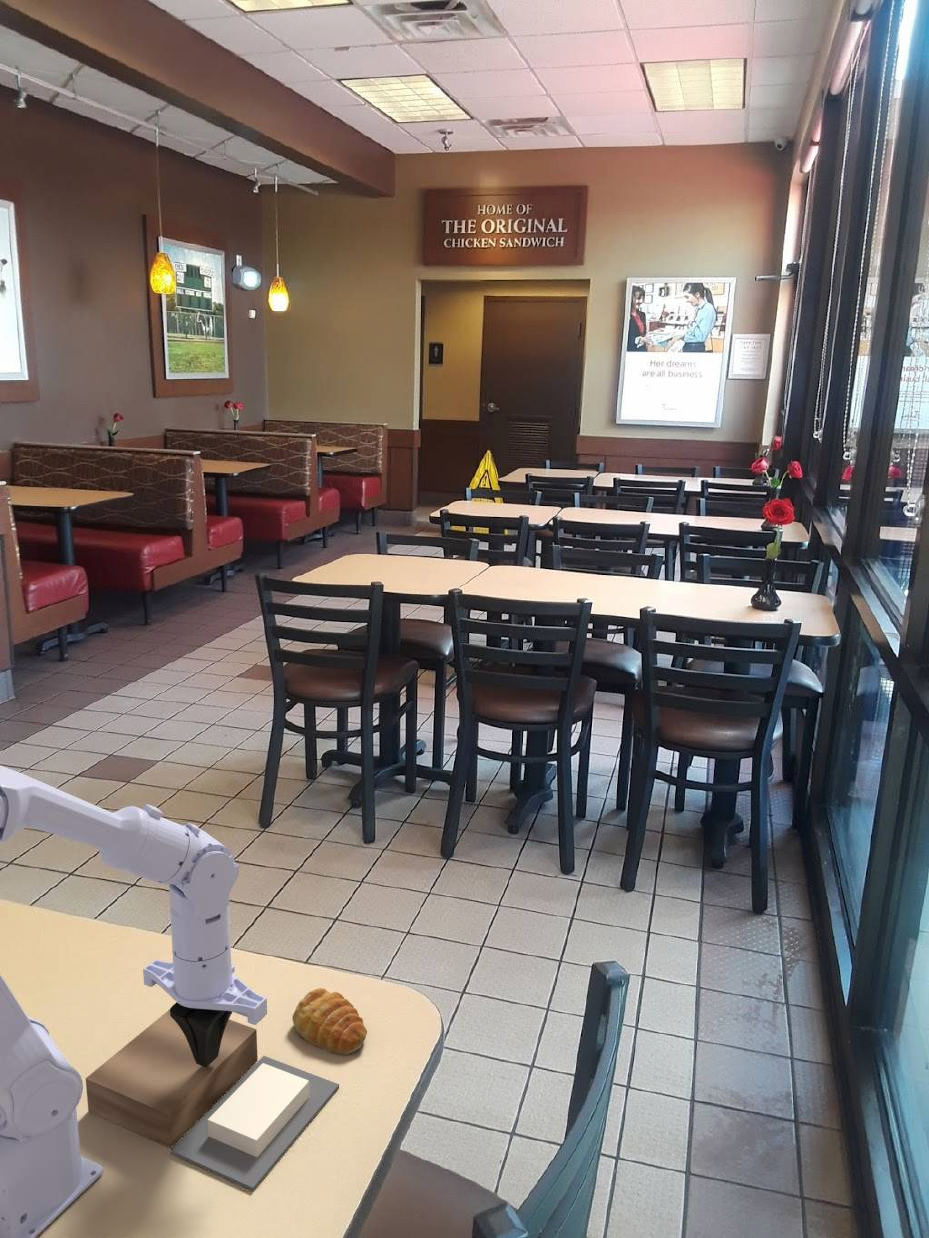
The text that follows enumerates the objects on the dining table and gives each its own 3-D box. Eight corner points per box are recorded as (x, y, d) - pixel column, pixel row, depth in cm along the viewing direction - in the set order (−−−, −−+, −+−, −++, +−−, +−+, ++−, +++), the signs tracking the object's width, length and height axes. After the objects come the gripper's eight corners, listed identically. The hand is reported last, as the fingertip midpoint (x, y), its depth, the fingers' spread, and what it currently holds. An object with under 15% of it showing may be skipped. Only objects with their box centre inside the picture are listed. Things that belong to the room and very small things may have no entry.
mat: (253, 1191, 87) (253, 1187, 87) (170, 1153, 91) (170, 1150, 91) (339, 1087, 100) (339, 1084, 100) (263, 1058, 104) (263, 1055, 104)
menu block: (207, 1119, 93) (208, 1136, 93) (256, 1140, 90) (257, 1157, 91) (262, 1062, 100) (263, 1078, 101) (309, 1080, 98) (309, 1096, 98)
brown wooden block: (170, 1148, 92) (168, 1114, 91) (88, 1111, 96) (85, 1078, 95) (257, 1059, 104) (256, 1029, 103) (181, 1030, 109) (179, 1000, 108)
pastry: (381, 1038, 108) (381, 1010, 108) (337, 1068, 104) (336, 1039, 103) (329, 1003, 115) (329, 976, 114) (285, 1030, 110) (284, 1002, 109)
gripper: (283, 943, 95) (286, 1057, 98) (173, 908, 101) (179, 1016, 104) (240, 981, 88) (244, 1101, 92) (125, 941, 94) (133, 1056, 98)
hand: (207, 1059), depth 97 cm, fingers closed
